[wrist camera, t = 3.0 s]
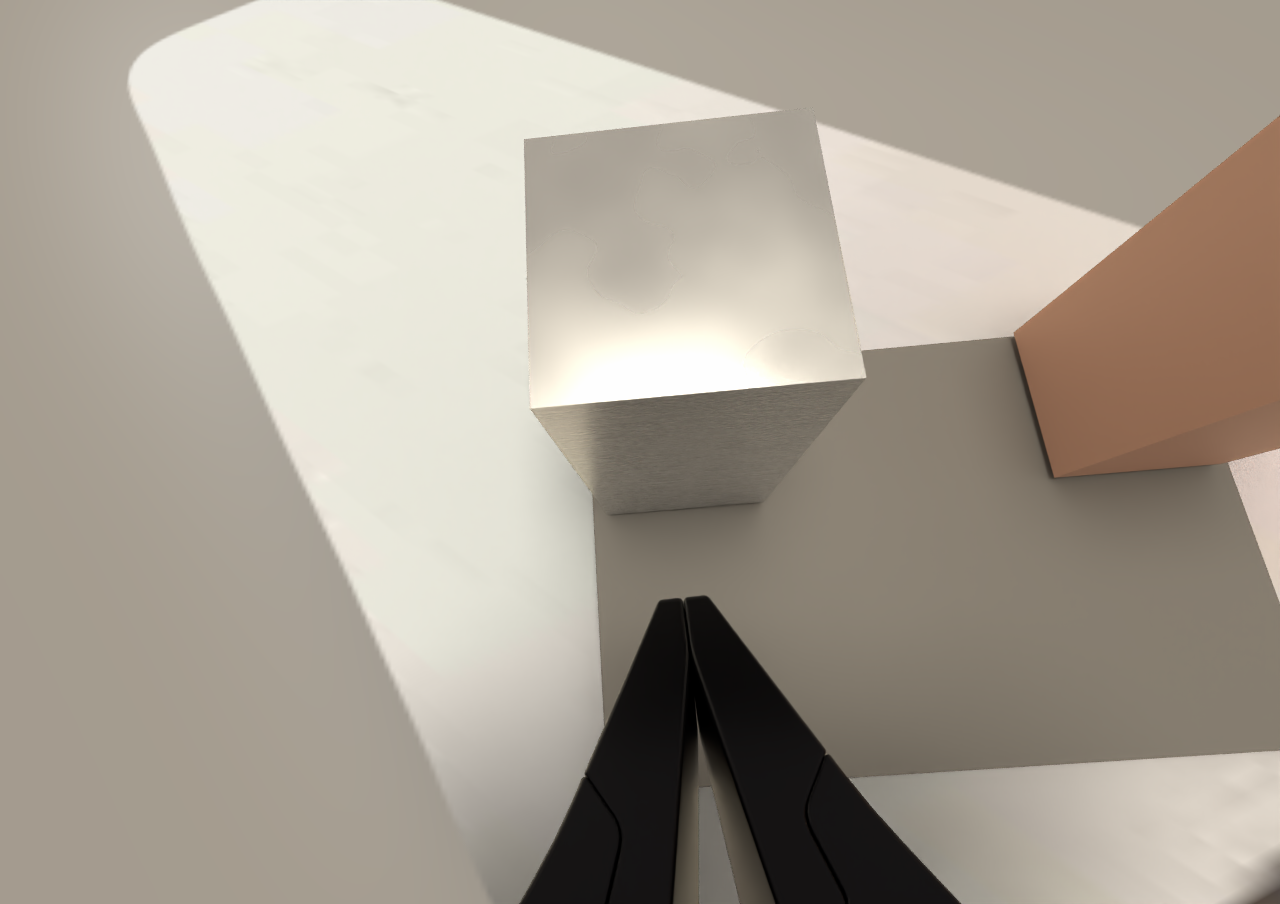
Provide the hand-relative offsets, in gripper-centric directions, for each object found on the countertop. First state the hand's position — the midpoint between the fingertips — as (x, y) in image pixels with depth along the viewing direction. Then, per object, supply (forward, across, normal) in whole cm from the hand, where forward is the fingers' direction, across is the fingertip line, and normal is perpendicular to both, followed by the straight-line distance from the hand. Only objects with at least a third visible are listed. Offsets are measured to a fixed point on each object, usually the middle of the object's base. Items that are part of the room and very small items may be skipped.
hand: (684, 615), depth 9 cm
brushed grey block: (+10, -1, +2) cm, 10 cm away
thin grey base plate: (+8, -7, +6) cm, 12 cm away
